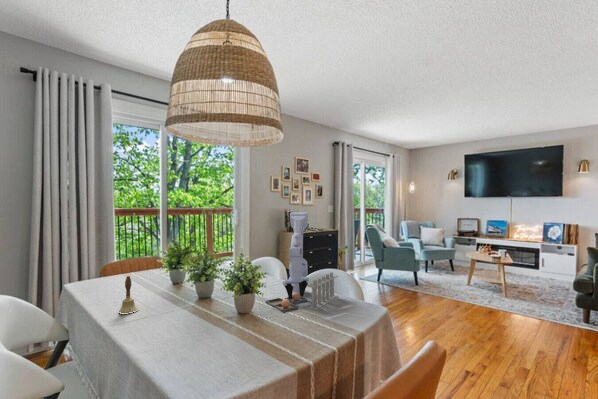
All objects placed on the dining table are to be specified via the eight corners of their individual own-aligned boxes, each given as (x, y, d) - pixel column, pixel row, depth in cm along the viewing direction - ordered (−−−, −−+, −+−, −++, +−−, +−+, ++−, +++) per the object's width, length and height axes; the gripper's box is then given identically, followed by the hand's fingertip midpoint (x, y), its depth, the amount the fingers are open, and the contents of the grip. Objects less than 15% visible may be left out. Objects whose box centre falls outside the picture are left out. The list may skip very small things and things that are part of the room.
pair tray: (265, 303, 151) (265, 300, 151) (279, 300, 156) (279, 297, 156) (283, 313, 138) (283, 310, 138) (297, 309, 143) (297, 306, 143)
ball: (279, 307, 145) (279, 299, 145) (286, 305, 147) (286, 297, 147) (284, 310, 141) (284, 301, 141) (291, 308, 144) (291, 299, 144)
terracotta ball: (290, 300, 155) (290, 292, 155) (297, 298, 157) (297, 290, 157) (295, 302, 152) (295, 294, 152) (301, 300, 154) (301, 292, 154)
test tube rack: (315, 311, 141) (315, 282, 141) (307, 309, 144) (307, 281, 144) (338, 297, 163) (338, 271, 163) (330, 295, 165) (330, 270, 165)
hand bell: (113, 313, 139) (113, 277, 139) (130, 307, 146) (130, 273, 147) (125, 316, 135) (125, 279, 135) (142, 310, 143) (142, 275, 143)
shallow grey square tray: (284, 301, 156) (284, 298, 156) (297, 298, 160) (297, 295, 160) (293, 305, 149) (293, 302, 149) (307, 302, 154) (307, 299, 154)
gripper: (288, 273, 147) (288, 302, 147) (312, 269, 156) (312, 297, 156) (280, 271, 153) (280, 298, 153) (304, 267, 161) (304, 293, 161)
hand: (296, 297), depth 155 cm, fingers open, 6 cm apart
